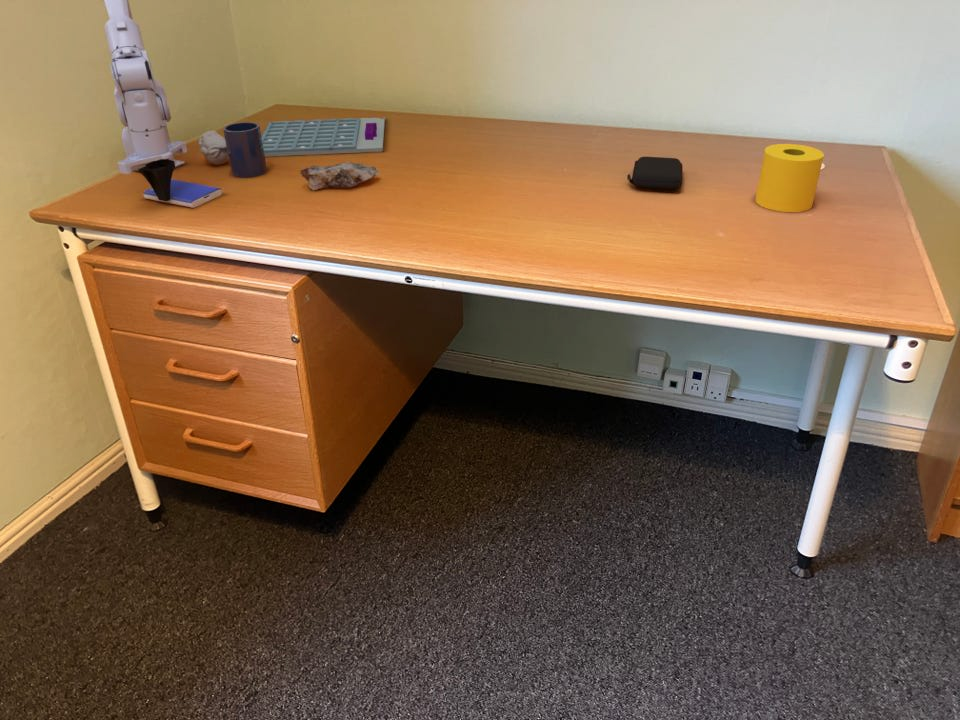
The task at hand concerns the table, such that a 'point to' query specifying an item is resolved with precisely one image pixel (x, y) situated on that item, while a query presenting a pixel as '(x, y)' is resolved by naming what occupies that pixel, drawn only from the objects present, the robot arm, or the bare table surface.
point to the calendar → (323, 136)
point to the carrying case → (657, 174)
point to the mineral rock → (338, 175)
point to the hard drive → (187, 193)
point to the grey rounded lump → (213, 147)
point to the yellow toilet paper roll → (789, 177)
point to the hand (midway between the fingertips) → (164, 199)
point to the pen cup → (245, 149)
